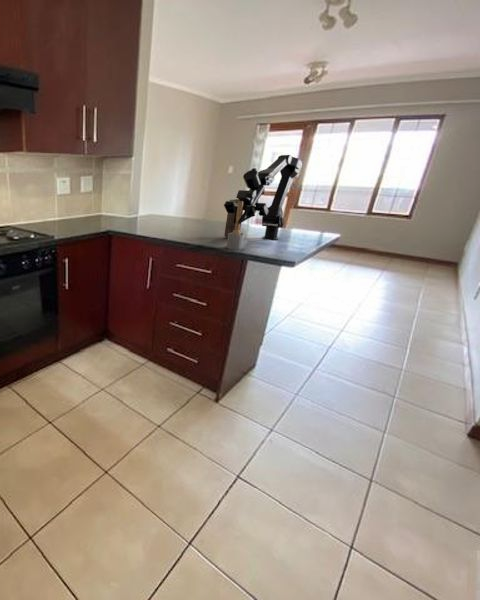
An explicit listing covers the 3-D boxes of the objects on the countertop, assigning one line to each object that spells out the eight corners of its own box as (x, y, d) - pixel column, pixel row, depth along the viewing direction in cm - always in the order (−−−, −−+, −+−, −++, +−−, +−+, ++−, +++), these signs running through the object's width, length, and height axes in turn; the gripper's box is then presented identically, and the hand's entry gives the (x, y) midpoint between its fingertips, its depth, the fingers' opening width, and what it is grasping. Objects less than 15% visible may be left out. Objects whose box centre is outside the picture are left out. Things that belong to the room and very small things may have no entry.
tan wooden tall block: (239, 240, 172) (245, 199, 164) (224, 239, 174) (229, 199, 166) (238, 237, 179) (243, 198, 171) (223, 236, 181) (228, 198, 173)
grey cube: (227, 246, 159) (229, 232, 157) (243, 247, 156) (245, 232, 154) (225, 249, 154) (227, 234, 151) (241, 251, 151) (243, 235, 148)
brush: (231, 240, 156) (237, 200, 149) (239, 241, 154) (245, 200, 148) (230, 242, 153) (236, 201, 147) (239, 242, 152) (244, 201, 145)
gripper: (228, 182, 154) (211, 209, 152) (269, 183, 139) (251, 213, 138) (235, 199, 161) (219, 225, 159) (275, 201, 146) (258, 229, 145)
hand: (236, 223), depth 150 cm, fingers closed on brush, 2 cm apart
